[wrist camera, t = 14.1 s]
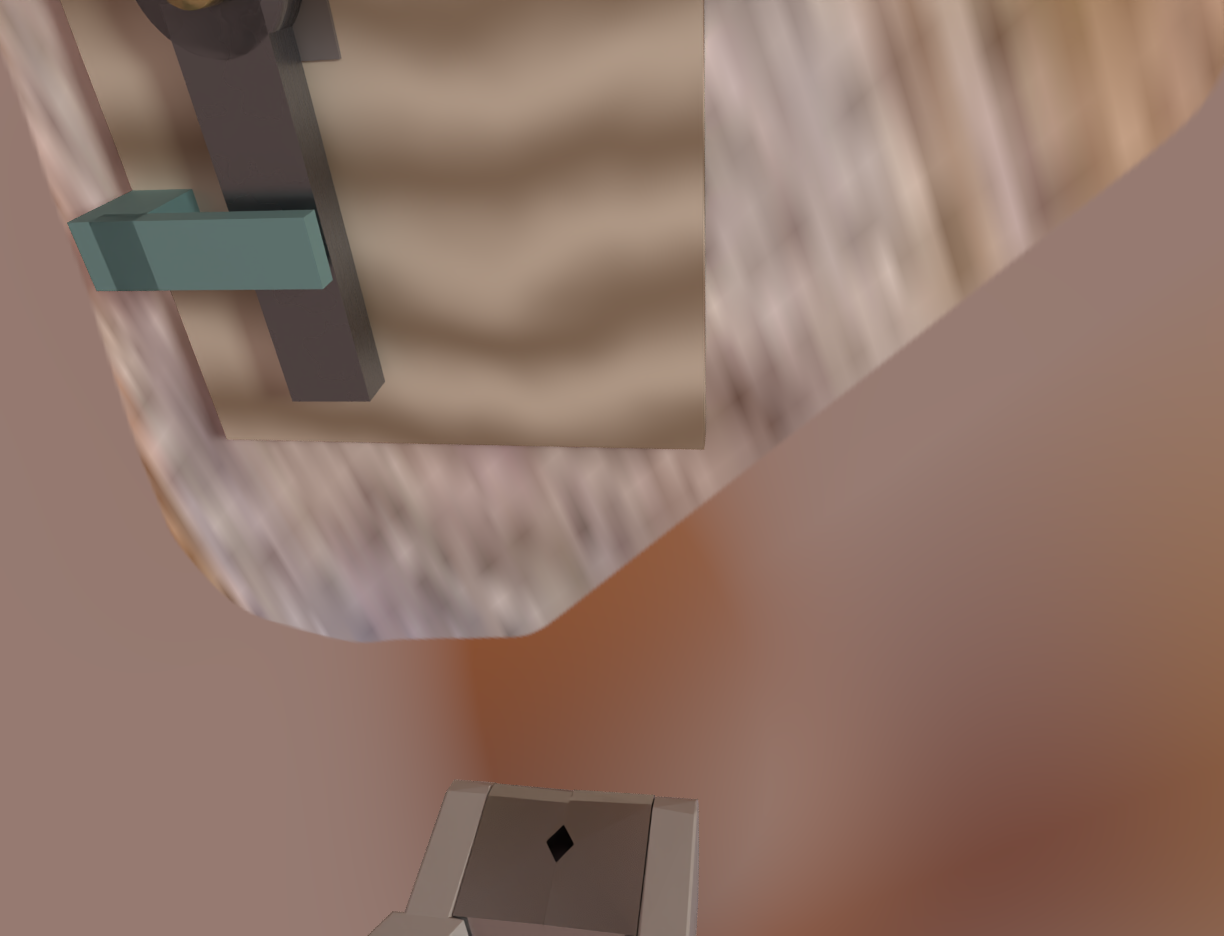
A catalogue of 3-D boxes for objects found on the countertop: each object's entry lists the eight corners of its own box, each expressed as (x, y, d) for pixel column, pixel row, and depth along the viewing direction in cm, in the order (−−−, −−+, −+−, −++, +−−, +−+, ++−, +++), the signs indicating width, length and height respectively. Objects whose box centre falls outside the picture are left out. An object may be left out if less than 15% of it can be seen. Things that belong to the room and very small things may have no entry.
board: (-5, -246, 31) (-41, -252, 30) (703, -329, 27) (700, -341, 26) (240, 425, 47) (225, 441, 46) (705, 433, 43) (703, 451, 42)
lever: (124, -124, 31) (66, -125, 28) (275, -141, 30) (229, -143, 27) (291, 381, 43) (261, 414, 40) (404, 381, 42) (380, 414, 39)
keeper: (132, 190, 39) (66, 222, 35) (348, 184, 37) (303, 217, 33) (156, 253, 40) (96, 290, 37) (363, 250, 39) (322, 289, 35)
